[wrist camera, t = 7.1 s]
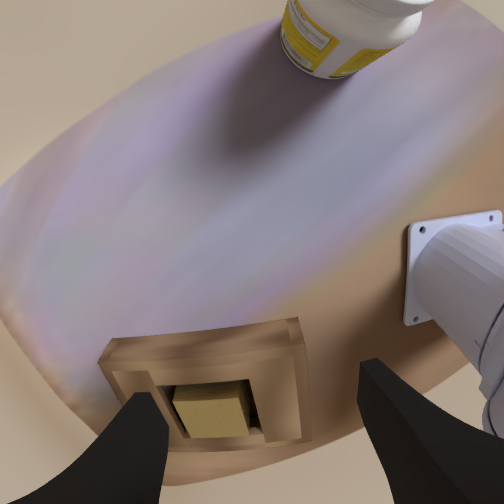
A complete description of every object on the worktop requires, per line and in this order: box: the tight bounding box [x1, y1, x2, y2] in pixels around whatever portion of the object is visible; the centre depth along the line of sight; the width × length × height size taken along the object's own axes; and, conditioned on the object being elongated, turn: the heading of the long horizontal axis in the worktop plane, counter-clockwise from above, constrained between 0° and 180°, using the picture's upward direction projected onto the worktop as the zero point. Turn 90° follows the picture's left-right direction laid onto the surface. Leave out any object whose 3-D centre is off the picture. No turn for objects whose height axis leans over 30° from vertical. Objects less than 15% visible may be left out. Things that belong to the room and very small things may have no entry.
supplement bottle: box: [280, 0, 435, 79], centre depth 10 cm, size 5×5×10 cm
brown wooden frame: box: [98, 317, 312, 452], centre depth 21 cm, size 14×11×3 cm
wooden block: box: [173, 379, 250, 438], centre depth 20 cm, size 4×4×4 cm
